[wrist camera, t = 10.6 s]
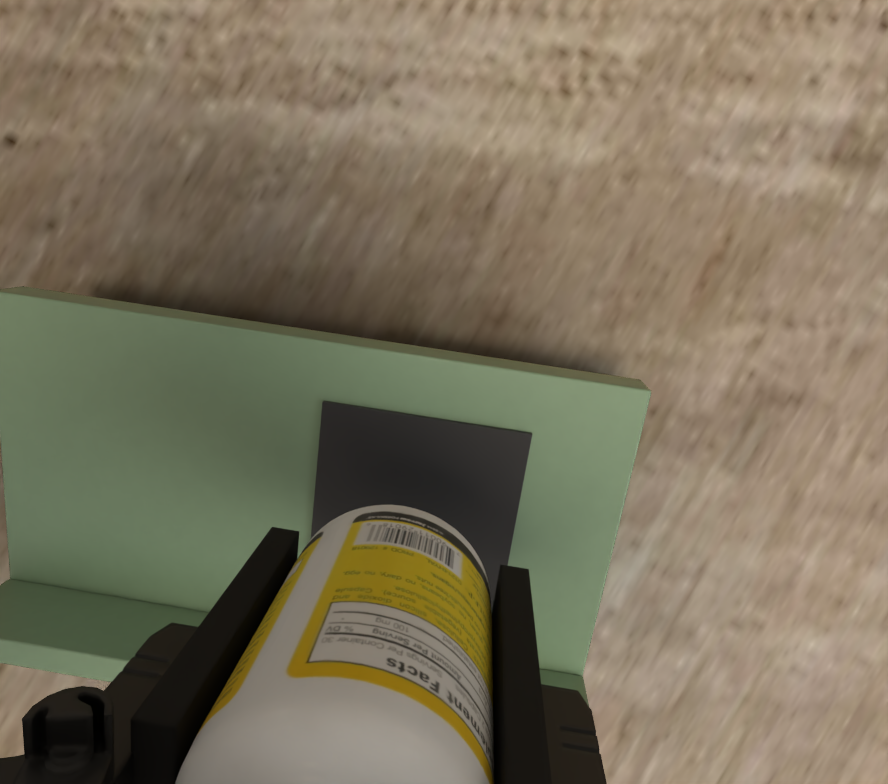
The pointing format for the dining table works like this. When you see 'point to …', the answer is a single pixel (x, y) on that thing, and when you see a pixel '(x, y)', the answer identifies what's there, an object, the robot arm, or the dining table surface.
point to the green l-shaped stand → (280, 467)
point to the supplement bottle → (363, 665)
